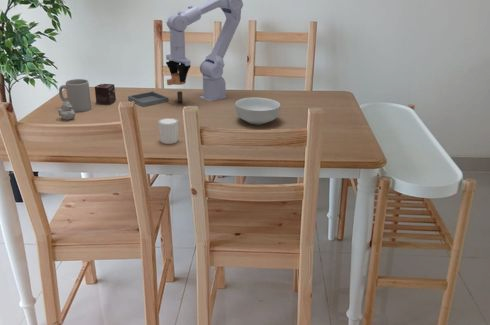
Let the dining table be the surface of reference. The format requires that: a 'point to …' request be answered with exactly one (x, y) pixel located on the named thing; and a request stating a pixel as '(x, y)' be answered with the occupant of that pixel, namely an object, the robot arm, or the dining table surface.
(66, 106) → the grey stacked lumpy shape
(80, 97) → the mug
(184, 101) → the stake
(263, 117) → the cereal bowl
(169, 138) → the white ribbed cylinder
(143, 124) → the dining table surface
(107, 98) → the box
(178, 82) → the ring
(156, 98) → the tray
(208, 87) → the robot arm
